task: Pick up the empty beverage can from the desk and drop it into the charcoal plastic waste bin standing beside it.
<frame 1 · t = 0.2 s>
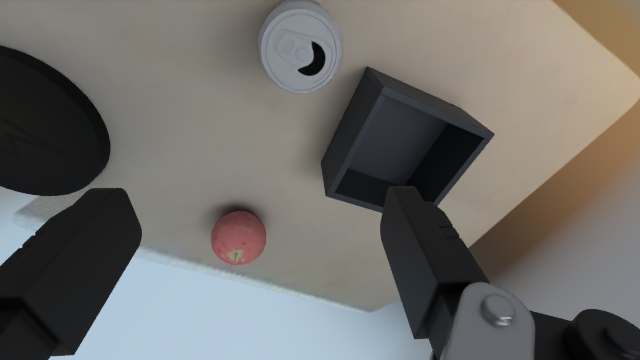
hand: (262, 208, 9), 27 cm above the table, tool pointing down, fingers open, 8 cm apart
black round disc: (27, 124, 34), on the table
apple: (244, 218, 45), on the table
bin: (388, 136, 38), on the table
beverage can: (299, 31, 31), on the table
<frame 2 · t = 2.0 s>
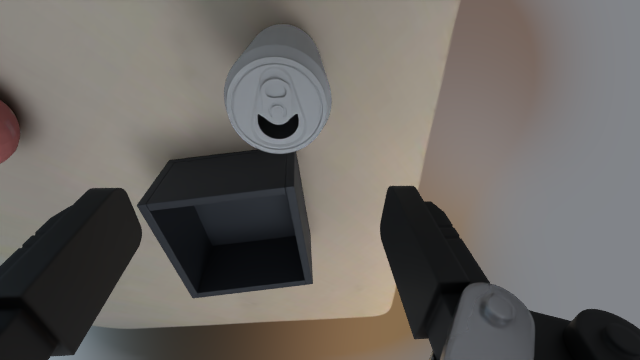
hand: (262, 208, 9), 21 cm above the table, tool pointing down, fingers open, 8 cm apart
bin: (247, 201, 35), on the table
beverage can: (285, 62, 26), on the table
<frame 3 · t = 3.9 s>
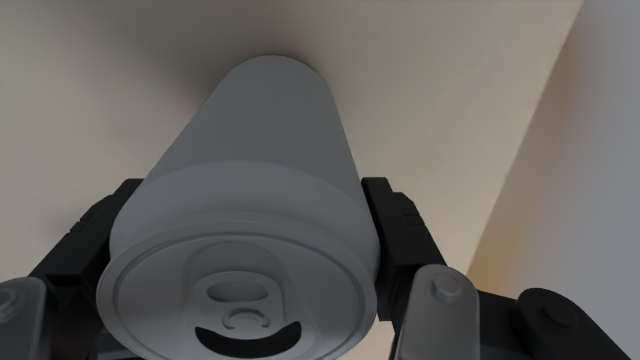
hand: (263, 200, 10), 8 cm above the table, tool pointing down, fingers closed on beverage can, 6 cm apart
bin: (226, 293, 25), on the table
beverage can: (277, 112, 16), on the table, touching gripper
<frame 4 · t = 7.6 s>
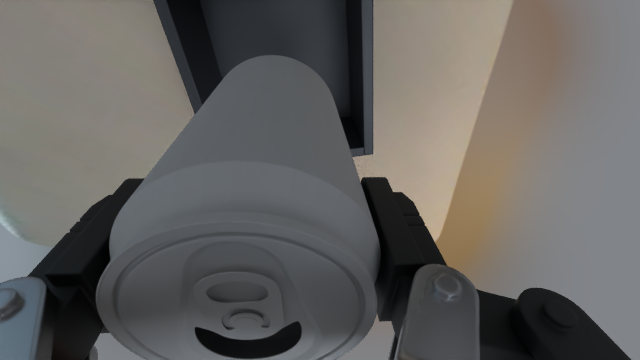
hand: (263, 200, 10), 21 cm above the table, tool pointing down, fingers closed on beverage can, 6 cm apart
bin: (284, 61, 27), on the table
beverage can: (277, 112, 16), point 14 cm above the table, touching gripper
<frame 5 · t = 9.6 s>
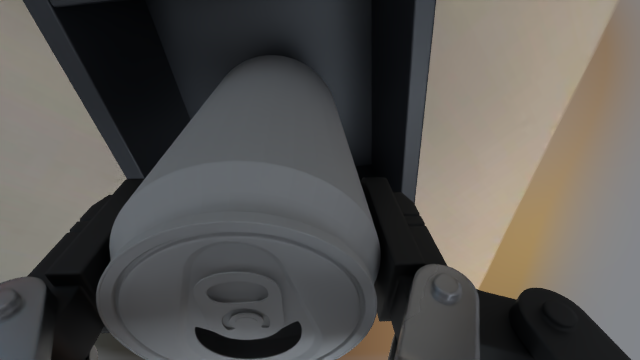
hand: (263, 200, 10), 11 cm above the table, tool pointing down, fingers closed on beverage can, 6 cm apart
bin: (279, 93, 19), on the table
beverage can: (277, 112, 16), point 4 cm above the table, touching gripper
when the fingers open (8 cm above the table, at t = 11.2 s): beverage can stays where it is, resting on bin.
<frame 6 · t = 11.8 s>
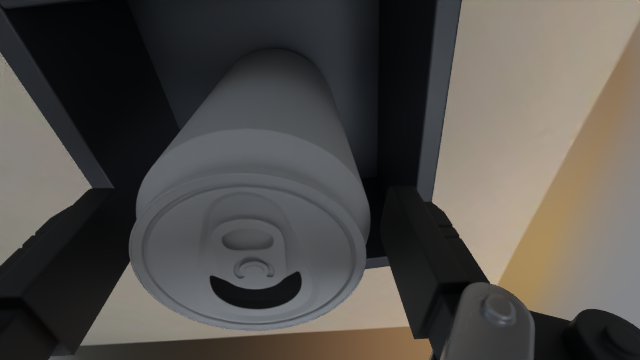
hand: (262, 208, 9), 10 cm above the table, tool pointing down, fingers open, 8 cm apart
bin: (277, 102, 17), on the table
beverage can: (278, 103, 17), resting on bin
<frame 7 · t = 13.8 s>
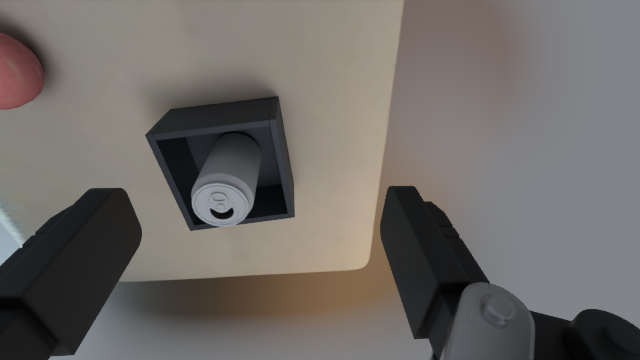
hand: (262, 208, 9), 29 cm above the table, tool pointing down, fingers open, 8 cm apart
apple: (23, 61, 32), on the table
bin: (238, 150, 40), on the table
beverage can: (238, 151, 40), resting on bin
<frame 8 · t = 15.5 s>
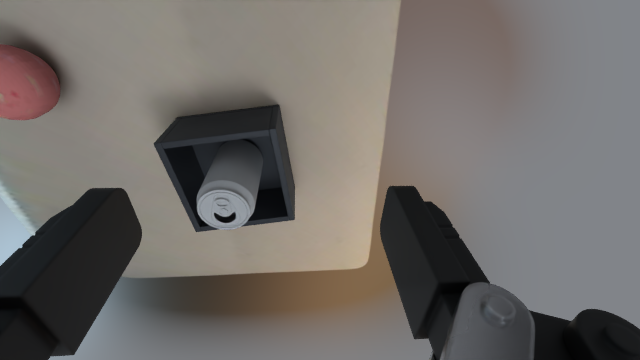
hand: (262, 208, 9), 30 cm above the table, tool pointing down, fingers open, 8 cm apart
apple: (41, 73, 34), on the table
bin: (241, 155, 42), on the table
beverage can: (241, 156, 42), resting on bin
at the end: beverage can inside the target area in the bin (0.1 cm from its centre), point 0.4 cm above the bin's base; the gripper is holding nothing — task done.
